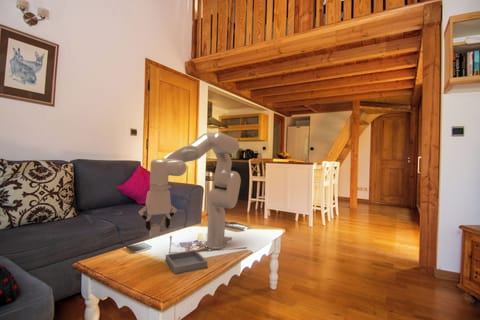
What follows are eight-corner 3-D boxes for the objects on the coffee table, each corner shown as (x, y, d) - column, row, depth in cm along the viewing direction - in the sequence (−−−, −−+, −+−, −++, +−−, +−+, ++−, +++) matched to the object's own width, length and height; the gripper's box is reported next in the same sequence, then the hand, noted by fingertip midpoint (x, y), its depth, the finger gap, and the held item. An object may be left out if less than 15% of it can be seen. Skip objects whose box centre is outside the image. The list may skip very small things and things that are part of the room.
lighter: (150, 237, 106) (151, 218, 106) (149, 236, 107) (149, 217, 107) (166, 233, 111) (166, 215, 111) (164, 232, 112) (164, 215, 112)
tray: (195, 256, 124) (195, 250, 124) (207, 267, 111) (207, 261, 111) (165, 261, 116) (165, 254, 116) (174, 274, 104) (174, 267, 104)
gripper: (176, 186, 116) (175, 224, 117) (136, 187, 107) (135, 228, 108) (181, 188, 110) (180, 228, 110) (139, 190, 101) (138, 233, 101)
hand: (157, 228), depth 109 cm, fingers closed on lighter, 7 cm apart
